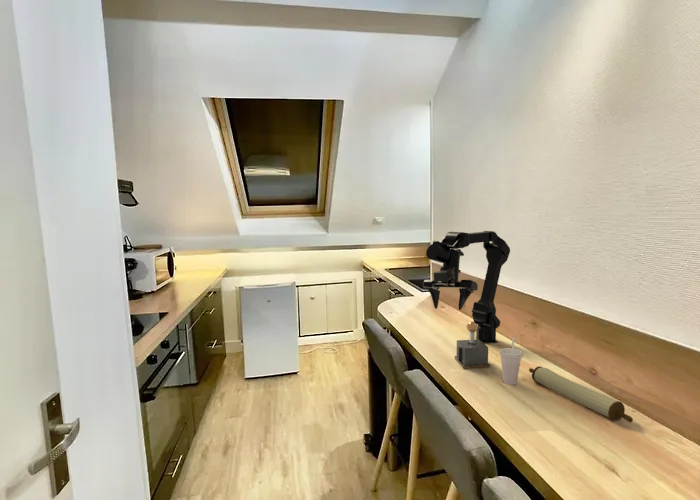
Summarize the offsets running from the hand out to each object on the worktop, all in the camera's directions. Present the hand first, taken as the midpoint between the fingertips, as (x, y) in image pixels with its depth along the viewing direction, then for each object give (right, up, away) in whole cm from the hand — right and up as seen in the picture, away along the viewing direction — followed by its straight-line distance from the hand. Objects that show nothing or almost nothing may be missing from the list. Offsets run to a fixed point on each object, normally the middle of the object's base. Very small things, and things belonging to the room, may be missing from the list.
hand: (447, 309), depth 142 cm
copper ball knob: (+7, -13, -4) cm, 15 cm away
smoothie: (+14, -19, -19) cm, 31 cm away
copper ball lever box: (+7, -18, -4) cm, 20 cm away
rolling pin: (+27, -21, -30) cm, 46 cm away
